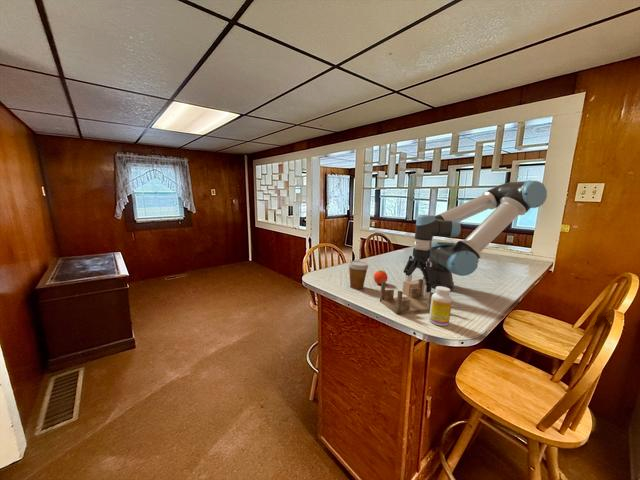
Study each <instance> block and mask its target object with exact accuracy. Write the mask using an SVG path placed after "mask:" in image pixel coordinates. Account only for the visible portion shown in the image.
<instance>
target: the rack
mask: <svg viewBox="0 0 640 480" xmlns="http://www.w3.org/2000/svg"><path fill="white" fill-rule="evenodd" d="M418 280H419V284H418V288H411V290H410V296H409V297H408V296H403V294H402V293H403V290H398V291H397V297H394V293H395V290H394V289H386V283H387V281H386V282H385V281H382V283H381V284H380V292H379V293H380V294H379V295H380V296H379V302H380V303H381V304H382V305H383V306H385V307H387V309H389V310H391V311H392V312H393V313H394V314H396V315H399V316H400V315H408V314H417V313H418V314H419V313H430V306H431V298H432V296H431V297H429V298H428V299H424V298H423V296H422V295H421V294H422V286H423V278H419V279H418Z"/></svg>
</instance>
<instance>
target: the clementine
mask: <svg viewBox="0 0 640 480" xmlns="http://www.w3.org/2000/svg"><path fill="white" fill-rule="evenodd" d="M373 280H374V282H375V283H376V284H378V285H381V283H382V281H385V282H386V283H387V281H388V274H387V273H386V271H385V270H378V271H375V272H374V275H373Z"/></svg>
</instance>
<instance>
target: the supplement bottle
mask: <svg viewBox="0 0 640 480" xmlns="http://www.w3.org/2000/svg"><path fill="white" fill-rule="evenodd" d="M434 289H435V292H434V293H433V294H432V295H431V297H432V298H431V297H430V298H431V306H430V312H429V316H428V320H429V322H430V323H431V324H433V325H435V326H440V327H446V326H448V325H449V324H450V317H451V311H452V310H451V309H452V303H453V299H452V297H451V295H450V293H451V289H449V288H447V287H442V286H437V287H436V288H434Z"/></svg>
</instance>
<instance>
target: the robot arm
mask: <svg viewBox="0 0 640 480" xmlns="http://www.w3.org/2000/svg"><path fill="white" fill-rule="evenodd" d="M547 197H548V190H547V188H546V186H545V184H544V183H543V182H541V181H538V180H529V179H528V180H527V181H525V180H524V181H511V182H510V181H508V182H506V183H501V184H499V185H497V186H495V187H492V188H491V189H488V190H485V191H484V192H482V194H481V195H479V196H477V197H475V198H472V199H471V200H468V201H466V202H464V203H461V204H459V205H457V206H454V207H453V208H451V209H448V210H446V211H443V212H441V213H439V214H436V215H433V214H432V215H430V214H418V215H417V216H416V217H417V218H416V222H415V230H414V231H415V232H414V240H413V247H414V248H413V249H412V255H409V257H408V261H407V262H406V265H405V267H404V269H403V273H405V281H413V273H414V272H415V270H416V269H417V268H418V269H419V271H421V272H422V275H423V277H422V279H425V281H426V284H425V287H424V295H423V296H422V297H423V298H424V299H426V300H428V298H430V296H431V295H430V294H431V293H432V288H433V289H436V287H437V286H442V287H447V288H449V289H450V290H452V289H454V287H455V286H454V285H455V281H454V279H453V274H454V275H457V276H459V277H460V276H461V277H464V276H469V275H471V274H473V273H474V272H475V271H476V270H477V268H478V267H479V259H480V258H481V256H482V255H481V252H482V251H483V250H484V249H486V247H488V246H489V244H491V242H493V241H494V240H495V239H496V238H497V237H498V236H499V235H500V234H501V232H503V231H504V230H505V229H506V228H508V226H509V225H510V224H511V223H512V222H513V221H514V220H516V218H517V217H518V216H524V215H525V214H526V213H527V212H528V211H530V210H531V208H532V209H536V208H539V207H541V206H543V205H544V203H545V202H546V201H547ZM487 210H493V211H492V212H491V213H490V214H489V215H488V216H487V217H486V218H485V219H484V220H483V221H482V222H481V223H480V224H479V225H478V226H477V227H476V228H475V229H474V230H473V231H472V232H471V233H470V234H469V235H467V237H466V238H465V239H463V240H458V241H457V242H456V243H455V242H447V241H433V238H434V237H444V238H456V237H458V236H459V235H460V234H461V230H462V226H461V224H460V222H461V221H464V220H467V219H468V218H471V217H473V216H476V215H478V214H480V213H482V212H484V211H487ZM431 287H432V288H431ZM430 292H431V293H430Z"/></svg>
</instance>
